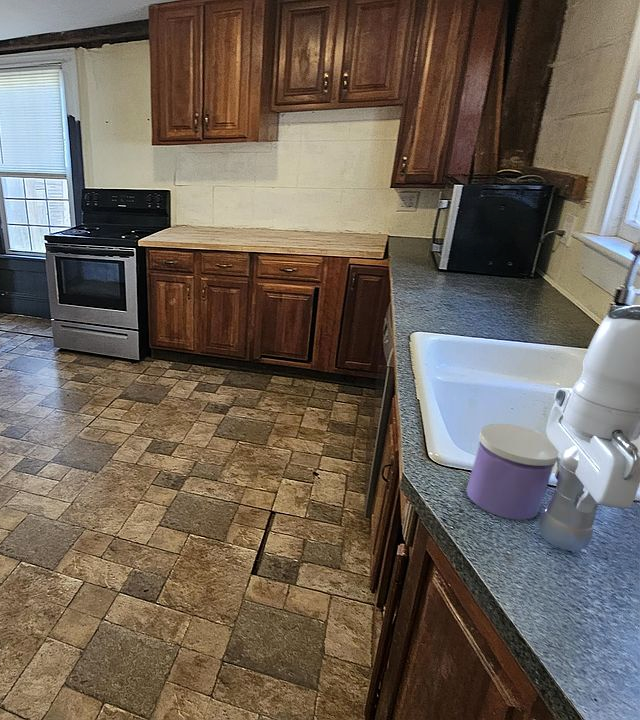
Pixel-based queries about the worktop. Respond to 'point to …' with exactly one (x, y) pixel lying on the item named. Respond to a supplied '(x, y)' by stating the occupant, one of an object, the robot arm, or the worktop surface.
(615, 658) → the worktop surface
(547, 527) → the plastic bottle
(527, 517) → the jar
